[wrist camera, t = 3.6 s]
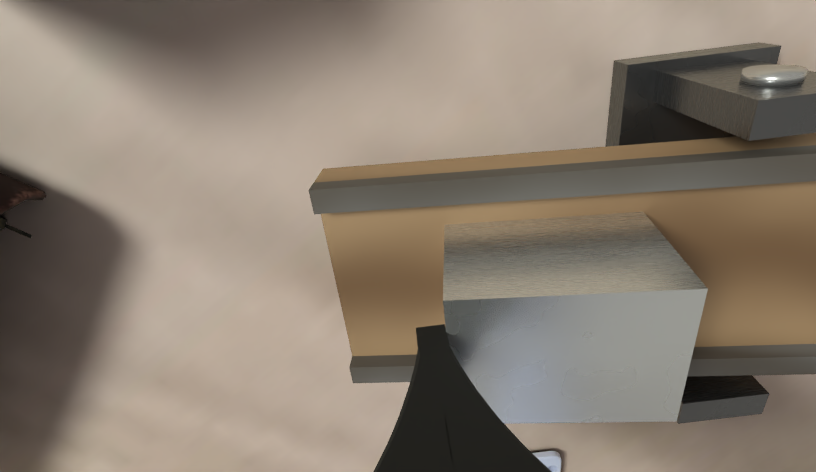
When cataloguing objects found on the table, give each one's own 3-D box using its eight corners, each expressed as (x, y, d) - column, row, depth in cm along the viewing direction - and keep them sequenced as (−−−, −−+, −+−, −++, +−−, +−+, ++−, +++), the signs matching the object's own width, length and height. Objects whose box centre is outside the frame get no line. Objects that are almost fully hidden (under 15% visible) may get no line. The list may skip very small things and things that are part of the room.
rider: (626, 325, 16) (676, 421, 12) (453, 331, 17) (454, 423, 13) (642, 211, 14) (707, 288, 10) (444, 224, 15) (443, 300, 11)
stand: (694, 318, 21) (787, 415, 17) (587, 331, 22) (649, 432, 17) (758, 42, 16) (930, 66, 11) (614, 60, 16) (719, 92, 11)
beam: (1091, 331, 16) (1188, 384, 14) (361, 352, 19) (350, 397, 17) (1277, 90, 12) (1449, 113, 10) (322, 165, 15) (302, 195, 13)
